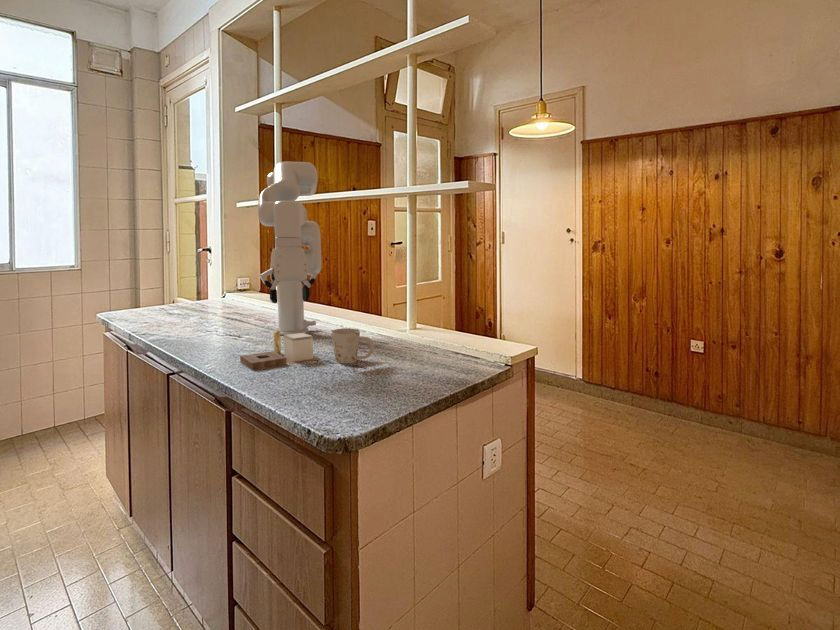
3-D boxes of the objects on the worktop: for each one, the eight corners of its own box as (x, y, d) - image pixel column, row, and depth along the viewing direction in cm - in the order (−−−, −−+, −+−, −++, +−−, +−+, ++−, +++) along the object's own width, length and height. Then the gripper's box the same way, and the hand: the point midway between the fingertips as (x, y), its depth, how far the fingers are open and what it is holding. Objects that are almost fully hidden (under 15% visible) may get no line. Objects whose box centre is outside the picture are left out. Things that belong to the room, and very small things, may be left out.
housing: (304, 354, 161) (303, 332, 160) (313, 358, 156) (312, 336, 155) (284, 357, 157) (283, 334, 156) (293, 361, 152) (292, 338, 151)
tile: (307, 355, 164) (306, 337, 163) (321, 362, 156) (320, 342, 155) (276, 360, 158) (275, 341, 157) (290, 367, 150) (289, 347, 149)
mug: (333, 360, 158) (332, 328, 157) (374, 359, 159) (374, 328, 158) (330, 367, 150) (330, 334, 148) (374, 367, 151) (374, 333, 149)
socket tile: (273, 360, 157) (273, 351, 157) (286, 367, 149) (286, 357, 149) (240, 365, 151) (240, 355, 151) (252, 373, 143) (252, 363, 143)
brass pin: (279, 355, 164) (278, 330, 162) (282, 356, 162) (281, 331, 161) (273, 356, 162) (272, 331, 161) (276, 357, 161) (275, 332, 159)
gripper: (310, 243, 160) (312, 298, 162) (254, 243, 150) (257, 302, 152) (320, 243, 153) (322, 300, 156) (263, 244, 144) (265, 305, 146)
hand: (290, 301), depth 154 cm, fingers open, 9 cm apart
